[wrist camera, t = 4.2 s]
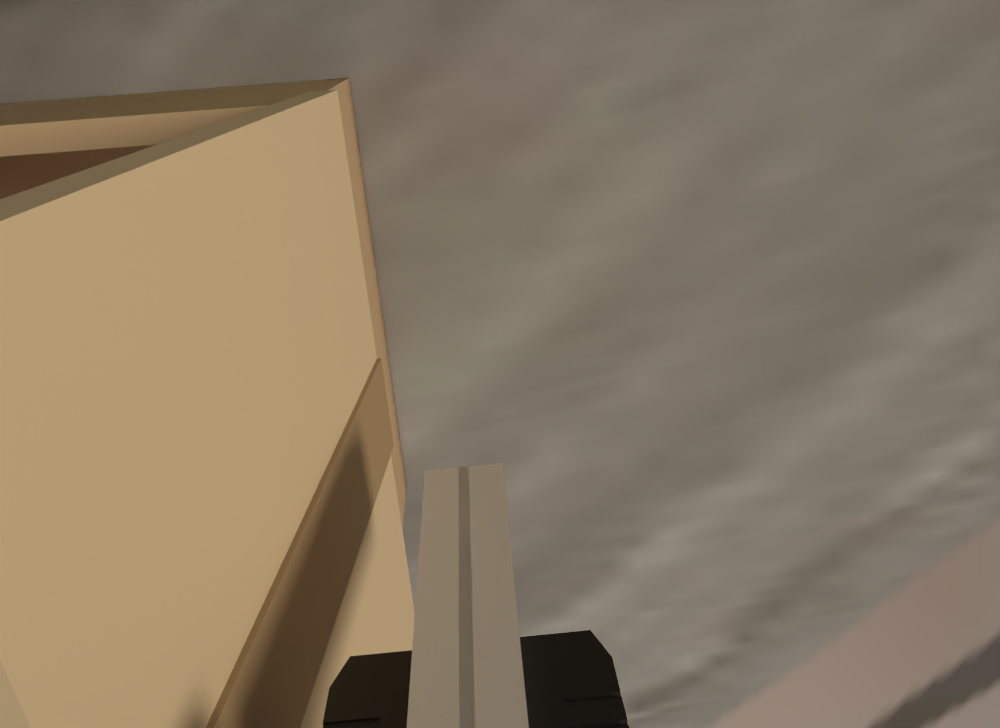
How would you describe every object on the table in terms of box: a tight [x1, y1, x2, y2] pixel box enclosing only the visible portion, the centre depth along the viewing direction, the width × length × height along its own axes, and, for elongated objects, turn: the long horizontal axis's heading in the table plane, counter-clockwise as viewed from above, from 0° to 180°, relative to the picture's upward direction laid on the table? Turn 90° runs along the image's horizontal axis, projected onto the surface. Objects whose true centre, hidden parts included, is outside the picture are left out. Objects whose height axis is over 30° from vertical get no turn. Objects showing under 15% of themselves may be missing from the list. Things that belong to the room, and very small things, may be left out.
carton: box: [0, 78, 406, 527], centre depth 21 cm, size 14×12×7 cm
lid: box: [0, 90, 415, 728], centre depth 13 cm, size 14×12×1 cm
